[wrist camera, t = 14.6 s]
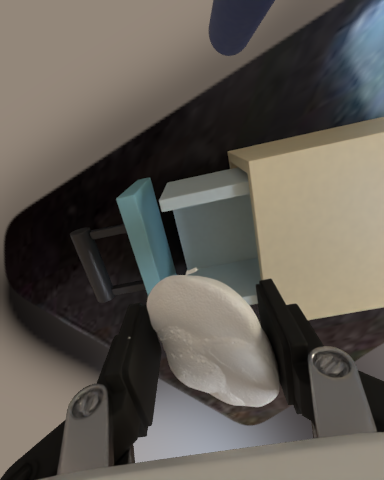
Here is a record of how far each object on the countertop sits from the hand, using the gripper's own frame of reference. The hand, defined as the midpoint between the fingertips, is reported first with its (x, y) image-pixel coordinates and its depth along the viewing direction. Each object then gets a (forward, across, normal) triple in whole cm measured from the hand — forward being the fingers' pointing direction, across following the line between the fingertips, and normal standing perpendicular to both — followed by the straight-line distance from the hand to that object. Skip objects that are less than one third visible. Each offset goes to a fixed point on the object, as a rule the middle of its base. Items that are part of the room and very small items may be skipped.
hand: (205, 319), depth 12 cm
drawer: (+13, 0, 0) cm, 13 cm away
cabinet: (+13, -11, 0) cm, 17 cm away
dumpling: (+1, 0, 0) cm, 1 cm away
